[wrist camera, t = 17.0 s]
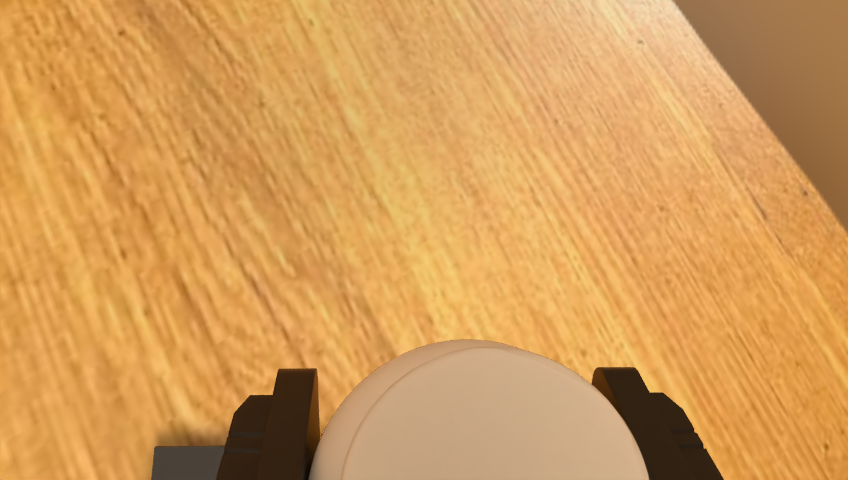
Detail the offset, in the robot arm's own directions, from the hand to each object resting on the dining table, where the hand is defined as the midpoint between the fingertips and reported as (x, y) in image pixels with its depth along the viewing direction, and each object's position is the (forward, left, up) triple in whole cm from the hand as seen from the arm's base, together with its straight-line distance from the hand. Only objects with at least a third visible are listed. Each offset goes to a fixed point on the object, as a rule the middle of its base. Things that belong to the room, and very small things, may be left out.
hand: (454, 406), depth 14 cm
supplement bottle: (0, +2, -5) cm, 5 cm away
